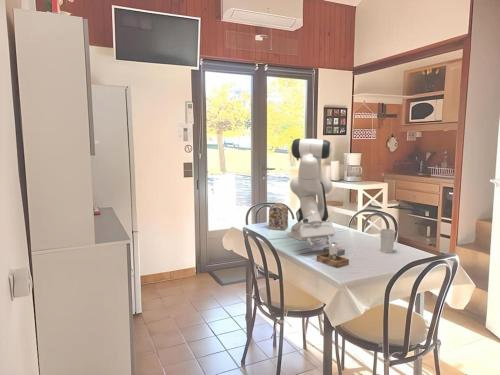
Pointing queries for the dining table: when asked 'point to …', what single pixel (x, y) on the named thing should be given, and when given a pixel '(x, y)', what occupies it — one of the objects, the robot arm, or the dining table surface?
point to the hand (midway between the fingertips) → (320, 245)
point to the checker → (339, 251)
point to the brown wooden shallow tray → (325, 259)
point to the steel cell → (333, 251)
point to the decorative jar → (278, 217)
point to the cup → (387, 240)
